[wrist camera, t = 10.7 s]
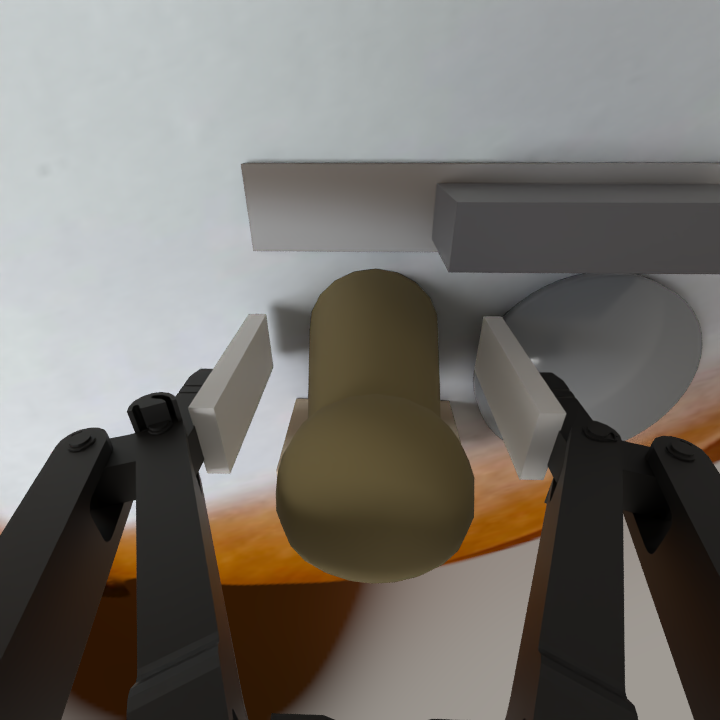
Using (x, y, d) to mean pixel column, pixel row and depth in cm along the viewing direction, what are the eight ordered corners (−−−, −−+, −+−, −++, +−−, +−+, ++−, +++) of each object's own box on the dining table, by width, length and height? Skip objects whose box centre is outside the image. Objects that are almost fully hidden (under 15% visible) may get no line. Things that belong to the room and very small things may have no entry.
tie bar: (436, 183, 14) (456, 202, 11) (716, 183, 14) (827, 202, 11) (431, 238, 15) (448, 272, 12) (692, 240, 15) (785, 274, 12)
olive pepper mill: (449, 368, 19) (522, 600, 10) (334, 395, 20) (301, 628, 11) (422, 251, 16) (490, 424, 7) (289, 290, 17) (192, 487, 8)
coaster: (491, 270, 17) (496, 276, 16) (730, 271, 16) (746, 278, 16) (460, 444, 22) (463, 454, 21) (642, 447, 22) (651, 457, 21)
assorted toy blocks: (244, 163, 15) (192, 179, 10) (785, 163, 14) (962, 179, 10) (283, 440, 22) (262, 517, 18) (642, 447, 22) (708, 526, 17)
